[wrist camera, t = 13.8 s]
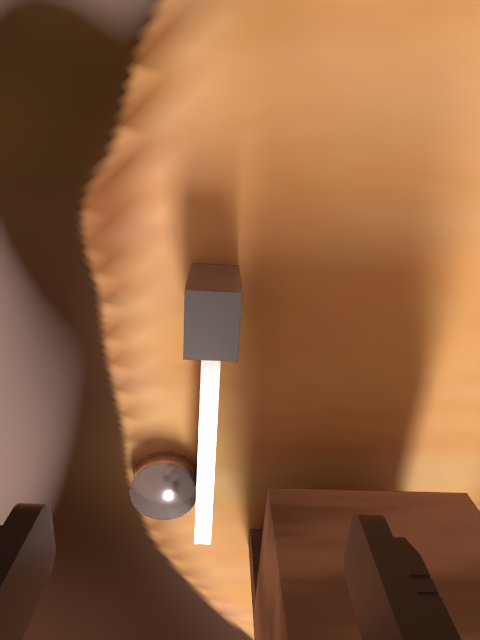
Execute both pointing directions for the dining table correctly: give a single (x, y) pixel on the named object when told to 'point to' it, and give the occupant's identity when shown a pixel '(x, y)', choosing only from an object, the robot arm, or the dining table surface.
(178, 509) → the steel token
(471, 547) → the walnut cabinet
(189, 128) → the dining table surface
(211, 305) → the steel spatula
